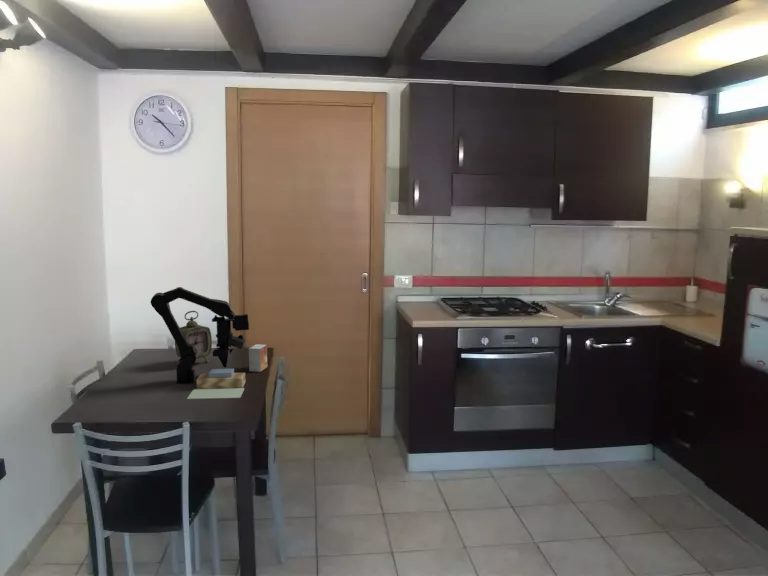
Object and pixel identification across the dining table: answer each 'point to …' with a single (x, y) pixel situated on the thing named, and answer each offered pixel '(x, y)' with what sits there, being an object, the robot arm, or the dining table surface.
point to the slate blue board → (221, 373)
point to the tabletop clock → (197, 337)
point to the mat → (216, 393)
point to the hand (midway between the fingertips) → (225, 367)
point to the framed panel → (220, 381)
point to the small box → (258, 357)
